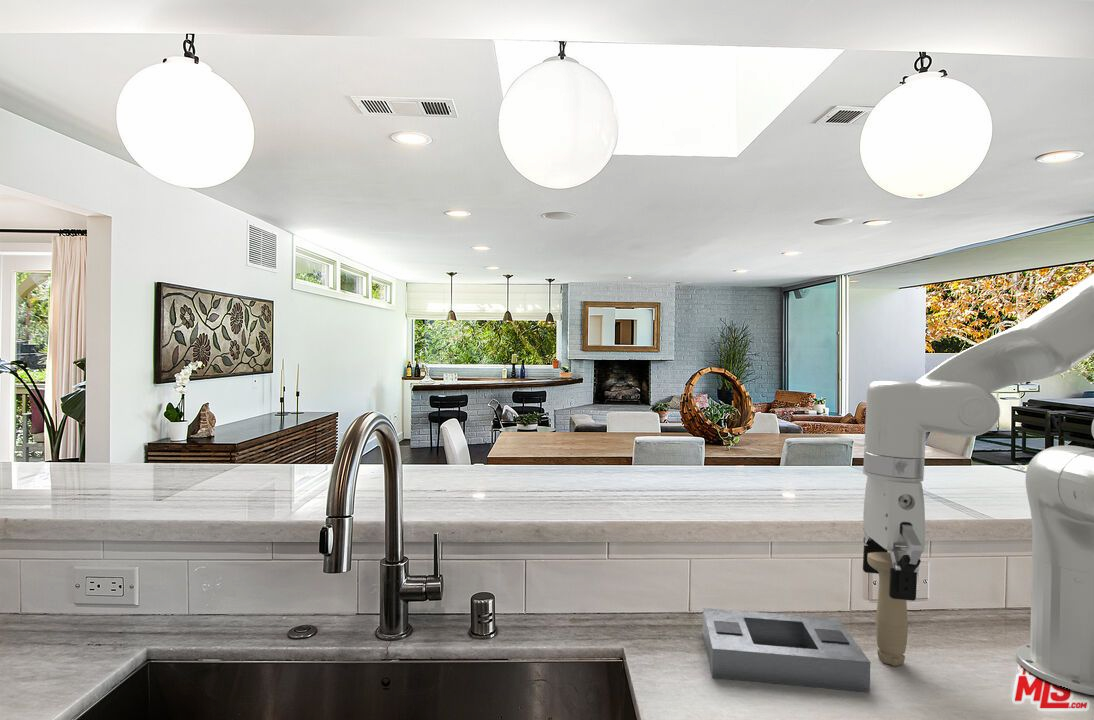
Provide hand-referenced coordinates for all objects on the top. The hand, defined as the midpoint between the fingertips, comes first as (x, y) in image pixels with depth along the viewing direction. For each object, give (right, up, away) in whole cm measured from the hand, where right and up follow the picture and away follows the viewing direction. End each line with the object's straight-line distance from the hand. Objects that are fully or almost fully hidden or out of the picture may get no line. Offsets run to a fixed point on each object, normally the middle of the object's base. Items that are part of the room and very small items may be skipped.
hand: (887, 585), depth 86 cm
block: (-16, -11, 0) cm, 19 cm away
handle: (+1, -11, 0) cm, 11 cm away
